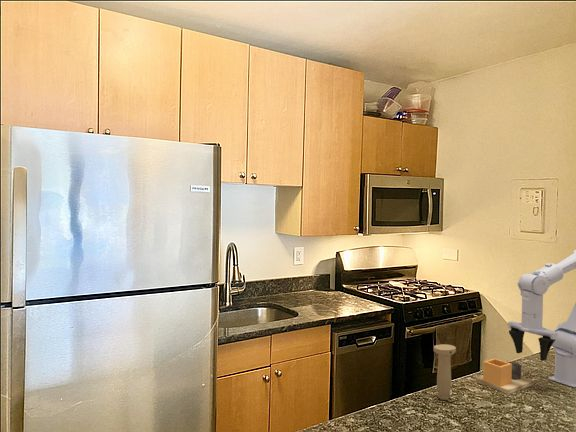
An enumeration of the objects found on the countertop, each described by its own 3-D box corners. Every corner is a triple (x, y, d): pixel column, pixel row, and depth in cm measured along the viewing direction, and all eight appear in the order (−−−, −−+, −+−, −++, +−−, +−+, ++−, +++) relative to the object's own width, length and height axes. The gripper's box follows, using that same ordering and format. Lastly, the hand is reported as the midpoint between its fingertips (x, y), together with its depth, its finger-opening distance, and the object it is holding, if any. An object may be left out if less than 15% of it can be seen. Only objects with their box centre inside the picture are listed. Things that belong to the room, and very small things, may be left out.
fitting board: (501, 373, 150) (502, 357, 150) (534, 384, 141) (534, 368, 141) (475, 381, 143) (475, 365, 143) (508, 394, 134) (508, 376, 133)
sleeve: (483, 380, 141) (483, 361, 141) (494, 376, 144) (494, 358, 144) (500, 386, 136) (500, 367, 136) (511, 383, 139) (511, 363, 139)
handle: (458, 399, 129) (459, 348, 129) (440, 403, 127) (441, 351, 126) (446, 393, 134) (447, 343, 133) (429, 396, 131) (430, 345, 131)
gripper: (502, 309, 143) (501, 351, 144) (548, 320, 131) (547, 365, 131) (515, 307, 147) (514, 348, 147) (561, 316, 135) (560, 361, 135)
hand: (531, 356), depth 140 cm, fingers open, 7 cm apart
